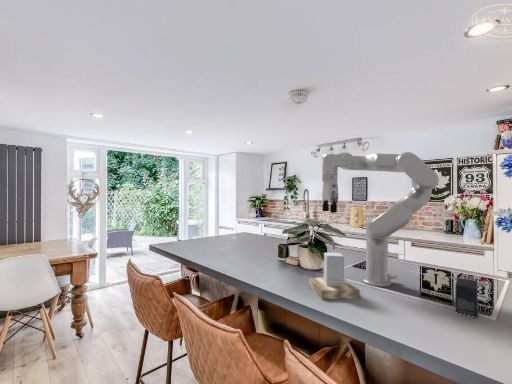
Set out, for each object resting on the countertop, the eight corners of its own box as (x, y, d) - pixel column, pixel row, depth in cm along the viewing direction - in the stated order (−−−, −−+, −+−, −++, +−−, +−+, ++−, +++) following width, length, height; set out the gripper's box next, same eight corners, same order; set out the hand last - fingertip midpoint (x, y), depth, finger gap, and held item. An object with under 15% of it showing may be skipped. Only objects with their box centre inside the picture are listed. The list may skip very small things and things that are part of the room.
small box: (455, 303, 104) (456, 276, 104) (477, 308, 99) (477, 280, 100) (454, 312, 95) (454, 283, 95) (478, 318, 91) (478, 287, 91)
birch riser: (342, 284, 123) (342, 277, 123) (359, 298, 108) (359, 289, 108) (309, 285, 122) (309, 277, 122) (321, 299, 106) (321, 290, 106)
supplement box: (344, 286, 111) (344, 256, 111) (326, 285, 112) (326, 255, 112) (340, 280, 118) (340, 252, 118) (323, 280, 119) (323, 252, 119)
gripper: (344, 177, 127) (344, 213, 127) (329, 179, 144) (329, 210, 144) (329, 177, 126) (329, 213, 126) (316, 179, 143) (316, 210, 143)
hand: (329, 211), depth 135 cm, fingers open, 9 cm apart
